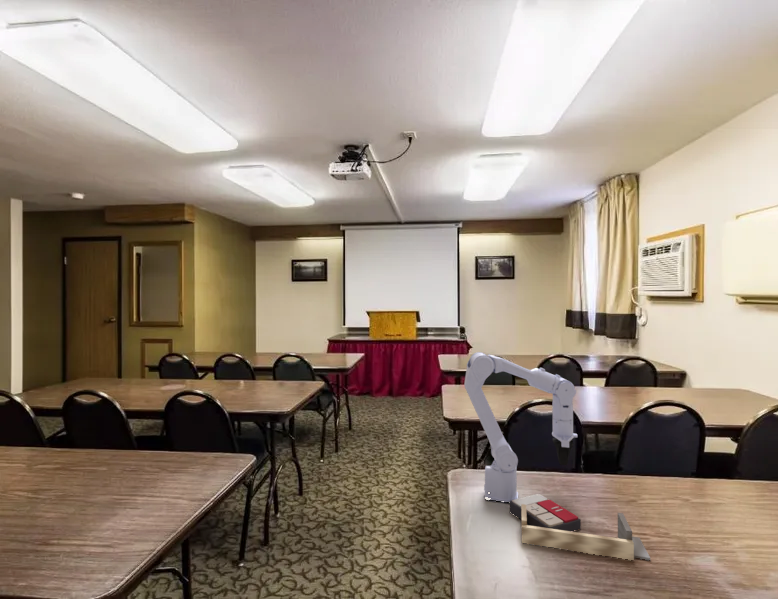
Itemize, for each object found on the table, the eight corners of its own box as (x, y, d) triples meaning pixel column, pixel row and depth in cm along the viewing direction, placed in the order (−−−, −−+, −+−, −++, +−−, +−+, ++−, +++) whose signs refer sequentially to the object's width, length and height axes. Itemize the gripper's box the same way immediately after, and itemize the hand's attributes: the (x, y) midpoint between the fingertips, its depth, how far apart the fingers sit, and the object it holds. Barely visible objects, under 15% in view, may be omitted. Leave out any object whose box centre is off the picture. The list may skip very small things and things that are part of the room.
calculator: (549, 525, 104) (509, 497, 118) (549, 543, 104) (508, 513, 118) (581, 516, 109) (539, 490, 122) (581, 533, 109) (538, 505, 123)
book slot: (521, 543, 102) (521, 518, 102) (521, 522, 112) (521, 500, 112) (652, 563, 94) (651, 536, 94) (639, 539, 104) (639, 515, 104)
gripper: (580, 426, 118) (581, 474, 118) (574, 413, 132) (574, 457, 132) (553, 424, 121) (554, 471, 120) (550, 412, 134) (550, 455, 134)
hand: (563, 464), depth 126 cm, fingers closed
